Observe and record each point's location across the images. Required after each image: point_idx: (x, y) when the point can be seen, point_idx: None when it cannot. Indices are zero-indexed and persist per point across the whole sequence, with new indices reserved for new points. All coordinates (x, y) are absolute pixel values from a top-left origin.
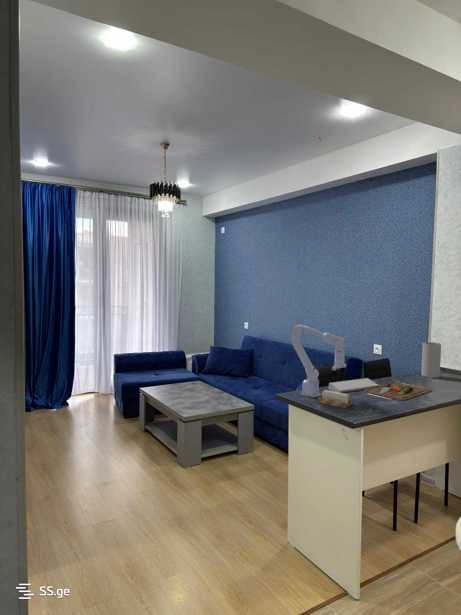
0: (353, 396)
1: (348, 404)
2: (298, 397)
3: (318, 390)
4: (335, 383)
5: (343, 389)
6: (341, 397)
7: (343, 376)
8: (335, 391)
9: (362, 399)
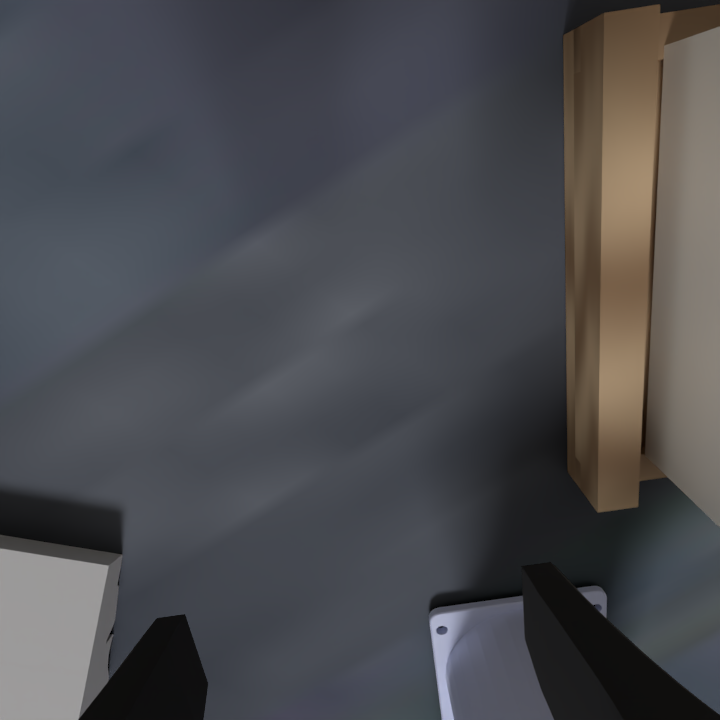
0: (75, 318)
1: (704, 8)
2: (716, 685)
3: (517, 670)
4: None
5: (4, 566)
6: None
7: (149, 703)
8: (115, 608)
9: (88, 104)
